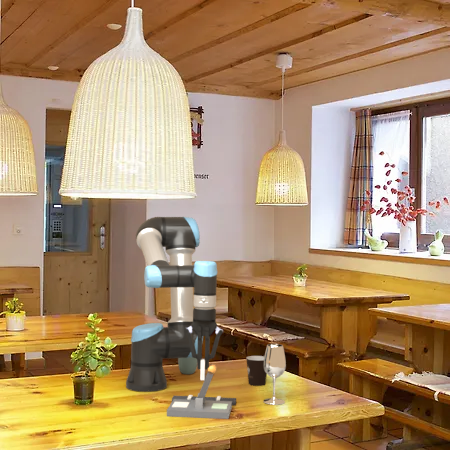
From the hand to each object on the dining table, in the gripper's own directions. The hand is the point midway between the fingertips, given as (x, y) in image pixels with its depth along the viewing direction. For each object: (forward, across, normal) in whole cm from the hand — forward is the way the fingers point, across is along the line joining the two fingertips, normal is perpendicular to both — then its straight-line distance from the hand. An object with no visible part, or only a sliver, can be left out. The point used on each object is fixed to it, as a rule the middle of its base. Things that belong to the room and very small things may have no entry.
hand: (202, 379), depth 248 cm
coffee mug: (+10, +16, +44) cm, 48 cm away
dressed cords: (+11, -1, +12) cm, 16 cm away
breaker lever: (+7, -1, +1) cm, 7 cm away
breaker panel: (+11, -1, +1) cm, 11 cm away
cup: (+10, -13, +56) cm, 58 cm away
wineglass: (+11, +23, +17) cm, 31 cm away
